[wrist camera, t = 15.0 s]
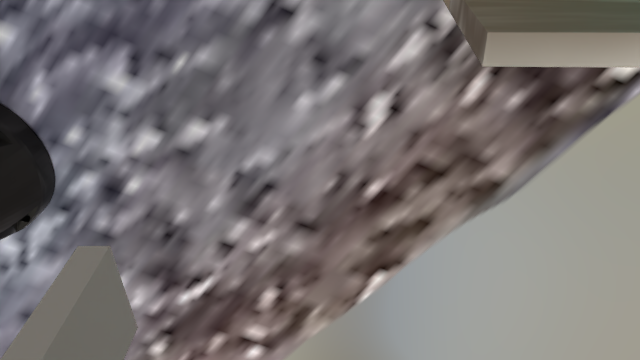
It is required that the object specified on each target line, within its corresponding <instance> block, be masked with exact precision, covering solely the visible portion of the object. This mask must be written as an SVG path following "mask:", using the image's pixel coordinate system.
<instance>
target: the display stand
mask: <svg viewBox="0 0 640 360" xmlns="http://www.w3.org/2000/svg"><path fill="white" fill-rule="evenodd" d="M443 1H444V3H445V4H446V6H447V8H448V10H449V11H450V13H451V15H452V16H453V18H454V20H455V21H456V23H457V25H458V26H459V28H460V30H461V31H462V33H463V35H464V36H465V38H466V40H467V41H468V43H469V45H470V47H471V48H472V50H473V52H474V53H475V55H476V57H477V58H478V60H479V62H480V63H481V65H482V66H487V67H640V0H443Z"/></svg>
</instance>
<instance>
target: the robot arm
mask: <svg viewBox="0 0 640 360" xmlns="http://www.w3.org/2000/svg"><path fill="white" fill-rule="evenodd" d="M53 191H54V172H53V168H52V164H51V161H50V159H49V156H48V154H47V152H46V150H45V148H44V147H43V145H42V144H41V142H40V141H39V139H38V138H37V136H36V135H35V134H34V133H33V132H32V130H31V129H30V128H29V127H28V126H27V125H26V124H25V123H24V122H23V121H22V120H21V119H19V118H18V117H17V116H16V115H15V114H13V113H12V112H11V111H9V110H8V109H6V108H5V107H3V106H2V105H0V240H1V239H3V238H5V237H7V236H9V235H11V234H13V233H15V232H17V231H19V230H21V229H23V228H25V227H26V226H28V225H29V224H30V223H32V222H33V221H34V220H35V219H36V218H37V216H38V215H39V214H40V213H41V212H42V211H43V210H44V209H45V208H46V206H47V205H48V203H49V202H50V200H51V198H52V195H53ZM137 328H138V327H137V324H136V321H135V318H134V315H133V312H132V309H131V306H130V303H129V300H128V298H127V295H126V292H125V289H124V286H123V283H122V280H121V277H120V274H119V271H118V268H117V265H116V262H115V260H114V257H113V254H112V251H111V248H110V246H78V247H77V249H76V250H75V251H74V253H73V254H72V256H71V257H70V259H69V260H68V262H67V263H66V265H65V266H64V268H63V269H62V270H61V272H60V273H59V275H58V276H57V278H56V279H55V281H54V282H53V284H52V285H51V287H50V288H49V290H48V291H47V292H46V294H45V295H44V297H43V298H42V300H41V301H40V303H39V304H38V306H37V307H36V309H35V310H34V311H33V313H32V314H31V316H30V317H29V319H28V320H27V322H26V323H25V325H24V326H23V328H22V329H21V330H20V332H19V333H18V335H17V336H16V338H15V339H14V341H13V342H12V344H11V345H10V347H9V348H8V349H7V351H6V352H5V354H4V355H3V357H2V358H1V360H124V358H125V356H126V353H127V351H128V349H129V347H130V344H131V342H132V340H133V337H134V335H135V333H136V330H137Z"/></svg>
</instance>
